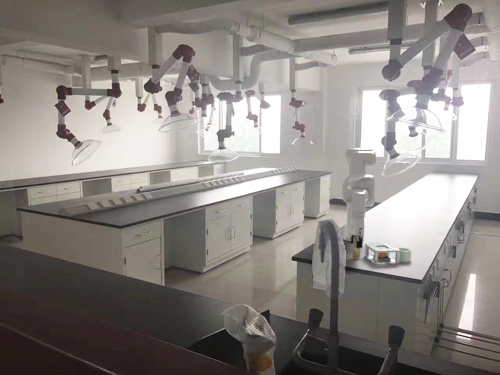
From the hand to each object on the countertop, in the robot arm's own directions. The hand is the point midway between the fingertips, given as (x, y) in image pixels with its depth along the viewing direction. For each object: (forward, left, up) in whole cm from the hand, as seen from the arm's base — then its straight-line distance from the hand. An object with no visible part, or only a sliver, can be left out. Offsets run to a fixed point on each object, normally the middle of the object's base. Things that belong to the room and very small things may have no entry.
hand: (356, 245), depth 220 cm
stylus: (0, 0, -7) cm, 7 cm away
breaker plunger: (+4, +13, -6) cm, 15 cm away
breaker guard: (+4, +13, -7) cm, 15 cm away
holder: (+6, +25, -7) cm, 26 cm away
